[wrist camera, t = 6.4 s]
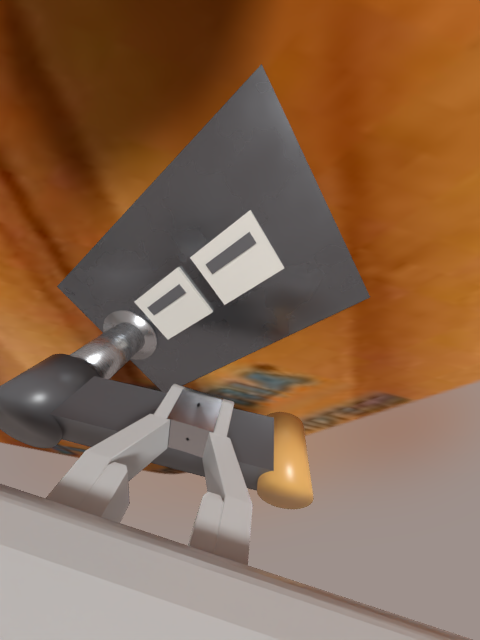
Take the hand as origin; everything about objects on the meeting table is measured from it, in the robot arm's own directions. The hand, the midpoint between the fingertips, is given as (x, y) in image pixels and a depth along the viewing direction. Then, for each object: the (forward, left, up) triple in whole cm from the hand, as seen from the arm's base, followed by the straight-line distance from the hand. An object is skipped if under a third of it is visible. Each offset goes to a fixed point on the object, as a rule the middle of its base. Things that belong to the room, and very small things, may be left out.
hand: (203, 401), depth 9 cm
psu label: (-2, +4, -6) cm, 7 cm away
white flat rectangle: (+3, +4, -6) cm, 8 cm away
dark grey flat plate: (0, +4, -7) cm, 8 cm away
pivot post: (-7, +4, -7) cm, 10 cm away
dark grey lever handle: (-3, 0, -1) cm, 3 cm away
